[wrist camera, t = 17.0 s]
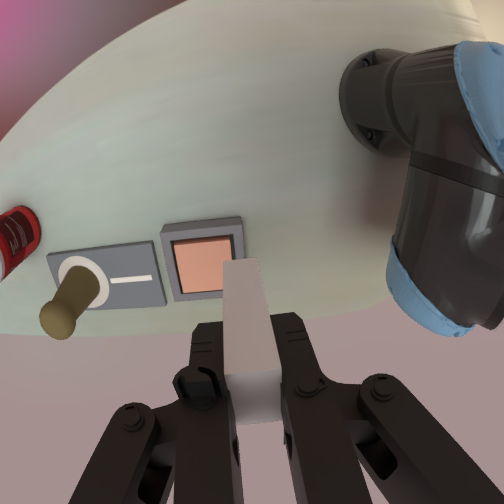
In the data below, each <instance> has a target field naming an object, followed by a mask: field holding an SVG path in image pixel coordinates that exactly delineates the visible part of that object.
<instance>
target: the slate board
mask: <svg viewBox="0 0 504 504" xmlns="http://www.w3.org/2000/svg"><path fill="white" fill-rule="evenodd" d="M46 258H47V261H48V264H49V267H50V270H51V273H52V276H53V278H54V281H55V284H56V286H57V289H58V288H59V286H60V284H61V283H62V281H63V279H64V277H65V275H66V273H67V272H68V270H69V269H70V268H71V267H73V266H76V265H78V266H84V267H87V268H88V269H90V270H91V271H92V272H93V273H94V274H95V275H96V276H97V278H98V280H99V284H100V292H99V294H98V296H97V297H96V298H95V299H94V300H93V302H92V303H91V304H90V305H89V306H88V307H87V308H86V309H85V310H107V309H128V308H145V307H161V306H166V305H167V300H166V296H165V292H164V288H163V284H162V280H161V276H160V271H159V267H158V263H157V258H156V254H155V249H154V244H153V241H144V242H135V243H127V244H119V245H110V246H102V247H94V248H87V249H79V250H71V251H64V252H56V253H49V254H48V255H47V256H46Z"/></svg>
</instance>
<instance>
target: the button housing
mask: <svg viewBox="0 0 504 504" xmlns="http://www.w3.org/2000/svg"><path fill="white" fill-rule="evenodd" d="M229 234H233V235H234V245H235V255H236V260H238V259H245V256H244V245H243V233H242V223H241V217H232V218H222V219H212V220H203V221H193V222H184V223H176V224H167V225H164V226H163V228H162V230H161V232H160V237H161V242H162V247H163V252H164V257H165V262H166V266H167V271H168V275H169V280H170V284H171V289H172V293H173V297H174V301H175V302H177V301H190V300H202V299H213V298H223V289H222V290H211V291H200V292H189V293H183V288H182V284H181V279H180V274H179V269H178V264H177V259H176V254H175V249H174V244H175V240H180V239H190V238H199V237H209V236H219V235H229Z"/></svg>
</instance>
